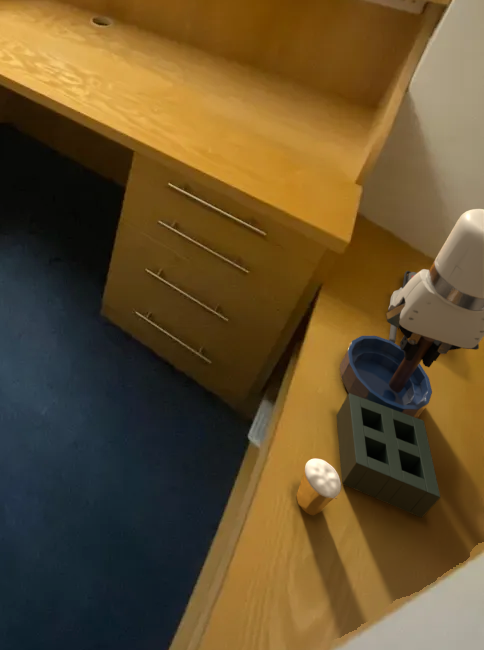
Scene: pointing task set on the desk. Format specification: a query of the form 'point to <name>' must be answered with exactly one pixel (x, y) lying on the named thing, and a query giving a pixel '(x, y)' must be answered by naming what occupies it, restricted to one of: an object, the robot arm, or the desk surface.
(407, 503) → the holder
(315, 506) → the beer glass
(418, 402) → the bowl
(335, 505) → the desk surface
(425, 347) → the stick
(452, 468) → the desk surface
